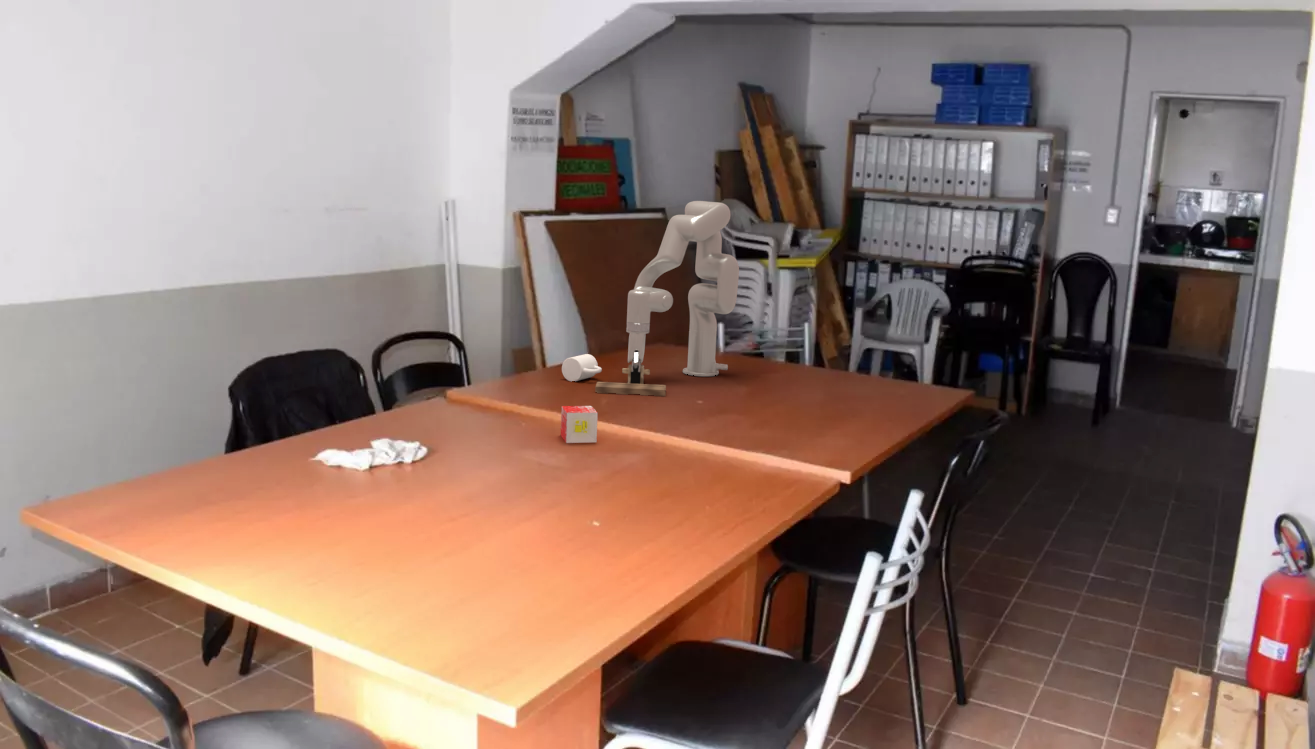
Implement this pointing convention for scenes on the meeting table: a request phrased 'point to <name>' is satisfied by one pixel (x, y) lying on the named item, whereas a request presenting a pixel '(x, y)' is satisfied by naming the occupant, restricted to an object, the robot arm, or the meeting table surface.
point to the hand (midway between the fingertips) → (635, 381)
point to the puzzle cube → (579, 424)
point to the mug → (580, 367)
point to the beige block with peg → (642, 370)
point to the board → (630, 388)
